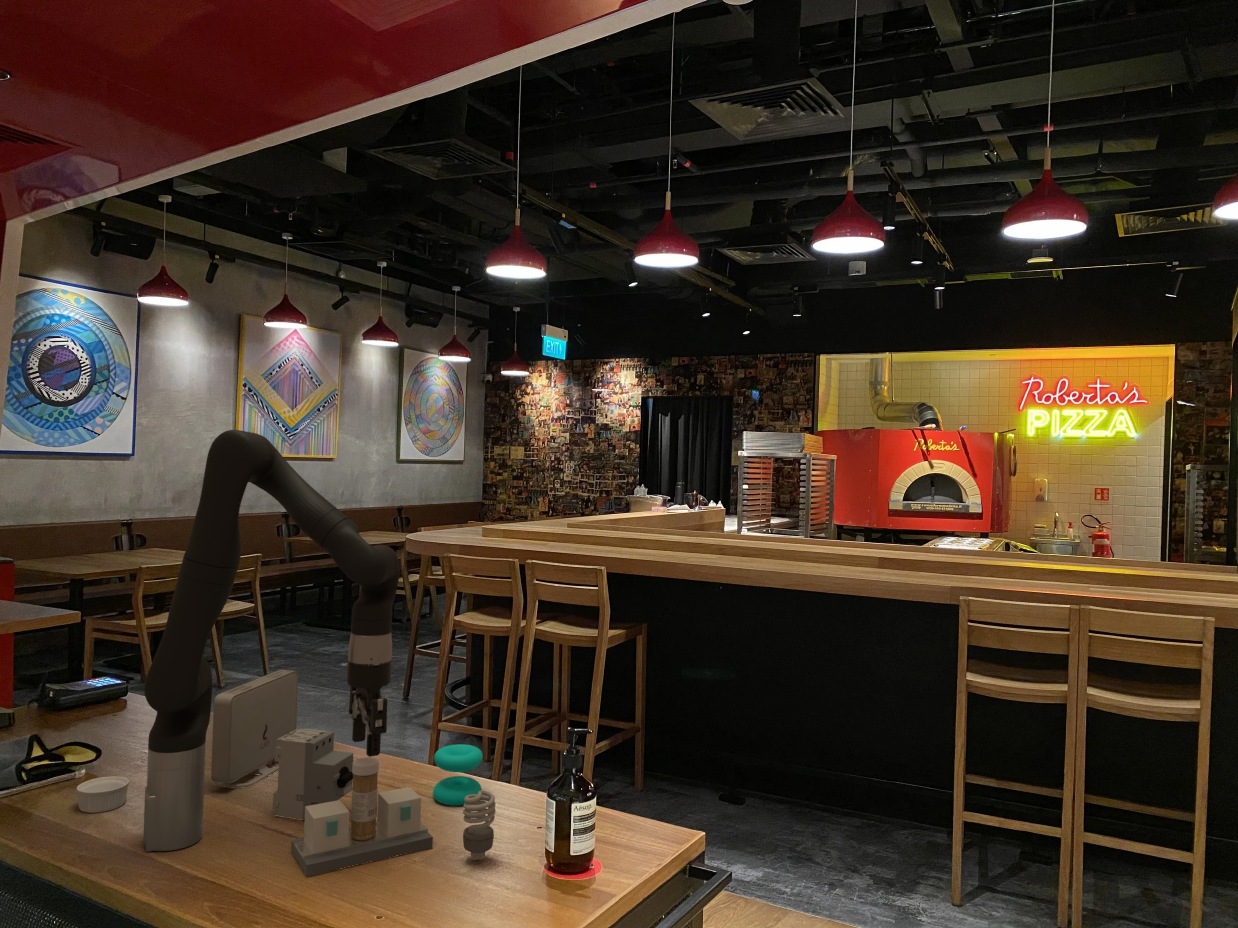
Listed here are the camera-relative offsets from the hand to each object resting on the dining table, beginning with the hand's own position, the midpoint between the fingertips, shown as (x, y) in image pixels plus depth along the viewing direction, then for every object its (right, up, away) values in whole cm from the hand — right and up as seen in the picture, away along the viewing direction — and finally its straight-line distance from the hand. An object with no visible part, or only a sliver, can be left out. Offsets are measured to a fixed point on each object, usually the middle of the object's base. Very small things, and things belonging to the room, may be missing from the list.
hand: (365, 748), depth 152 cm
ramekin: (-57, -17, +16) cm, 61 cm away
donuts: (+12, -19, +25) cm, 33 cm away
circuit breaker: (-14, -18, +15) cm, 27 cm away
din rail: (0, -16, 0) cm, 16 cm away
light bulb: (+20, -19, -3) cm, 28 cm away
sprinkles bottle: (0, -16, 0) cm, 16 cm away
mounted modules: (0, -16, 0) cm, 16 cm away
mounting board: (-1, -18, 0) cm, 18 cm away
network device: (-35, -18, +36) cm, 53 cm away
